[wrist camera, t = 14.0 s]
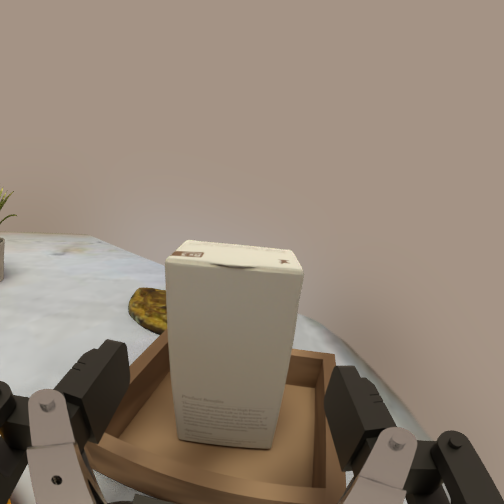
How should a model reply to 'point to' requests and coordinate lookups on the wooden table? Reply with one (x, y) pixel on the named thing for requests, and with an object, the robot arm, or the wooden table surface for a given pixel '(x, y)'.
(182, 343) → the skincare box
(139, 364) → the walnut box
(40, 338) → the wooden table surface
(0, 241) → the house plant
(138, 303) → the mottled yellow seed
